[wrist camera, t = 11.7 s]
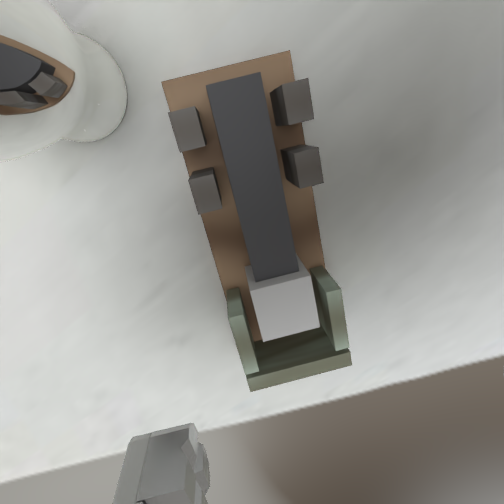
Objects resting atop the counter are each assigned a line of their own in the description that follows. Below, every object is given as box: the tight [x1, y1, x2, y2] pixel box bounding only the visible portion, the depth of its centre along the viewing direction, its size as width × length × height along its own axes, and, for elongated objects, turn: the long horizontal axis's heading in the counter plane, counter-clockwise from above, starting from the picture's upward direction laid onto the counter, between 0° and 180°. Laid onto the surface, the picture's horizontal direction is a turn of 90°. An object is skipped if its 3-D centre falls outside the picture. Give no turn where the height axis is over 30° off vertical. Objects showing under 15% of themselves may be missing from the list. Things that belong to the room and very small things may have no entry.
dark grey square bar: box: [206, 72, 320, 342], centre depth 21 cm, size 16×4×4 cm, turn 13°
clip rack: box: [162, 50, 352, 392], centre depth 22 cm, size 21×8×5 cm, turn 13°
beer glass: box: [0, 0, 127, 163], centre depth 13 cm, size 7×7×15 cm
